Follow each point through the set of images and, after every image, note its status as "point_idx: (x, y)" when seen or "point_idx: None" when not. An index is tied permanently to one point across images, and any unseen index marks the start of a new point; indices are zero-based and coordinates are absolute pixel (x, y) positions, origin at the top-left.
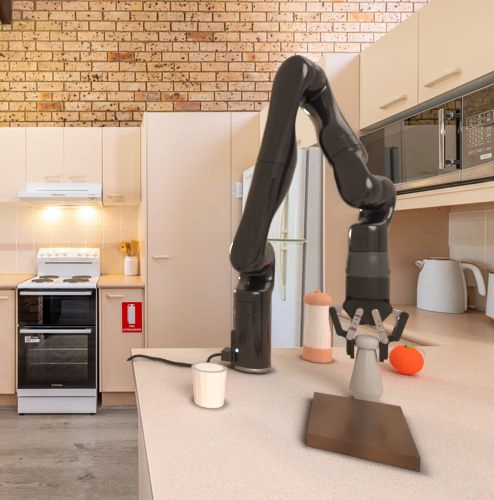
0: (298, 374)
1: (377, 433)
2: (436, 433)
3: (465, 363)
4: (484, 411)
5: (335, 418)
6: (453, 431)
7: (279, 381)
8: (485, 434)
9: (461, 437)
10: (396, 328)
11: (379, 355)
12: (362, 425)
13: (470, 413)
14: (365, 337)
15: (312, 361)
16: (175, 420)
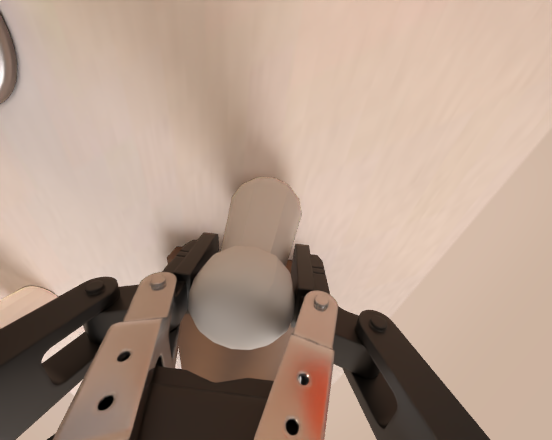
0: (95, 34)
1: (255, 365)
2: (342, 300)
3: None
4: (510, 169)
5: (209, 344)
6: (372, 286)
7: (79, 143)
8: (417, 282)
9: (372, 301)
10: (379, 435)
11: (292, 275)
12: (241, 353)
13: (463, 195)
14: (229, 345)
15: None
16: (51, 354)
